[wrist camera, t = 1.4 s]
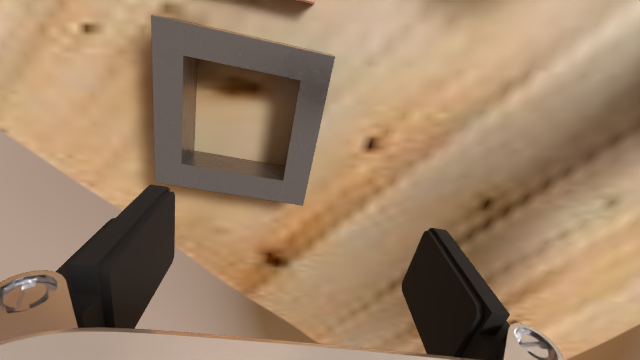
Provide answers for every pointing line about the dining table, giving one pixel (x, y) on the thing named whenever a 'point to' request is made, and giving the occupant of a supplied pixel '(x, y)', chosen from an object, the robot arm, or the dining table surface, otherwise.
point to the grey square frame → (180, 106)
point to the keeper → (308, 1)
